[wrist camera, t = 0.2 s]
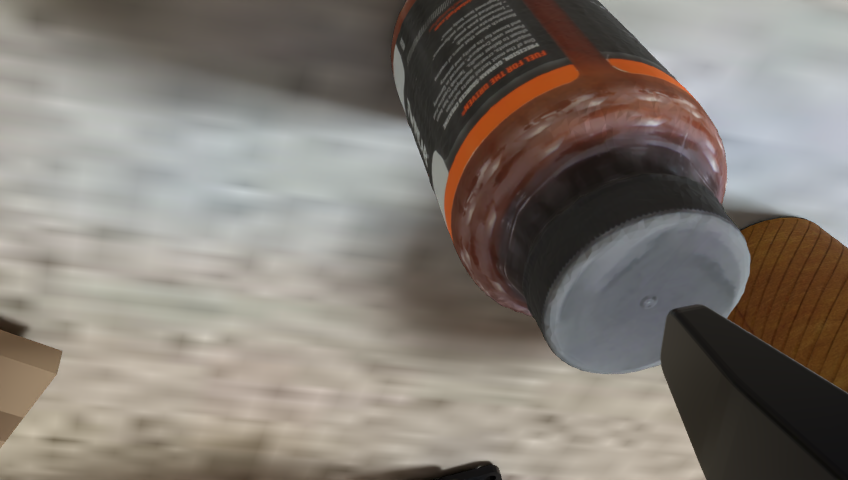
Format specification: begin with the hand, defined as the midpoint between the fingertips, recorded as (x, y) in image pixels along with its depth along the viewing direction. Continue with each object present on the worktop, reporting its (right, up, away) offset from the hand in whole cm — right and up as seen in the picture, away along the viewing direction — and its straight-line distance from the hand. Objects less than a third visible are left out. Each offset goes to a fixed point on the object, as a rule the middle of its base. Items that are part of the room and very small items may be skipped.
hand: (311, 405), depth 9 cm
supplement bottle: (+3, +8, +13) cm, 16 cm away
